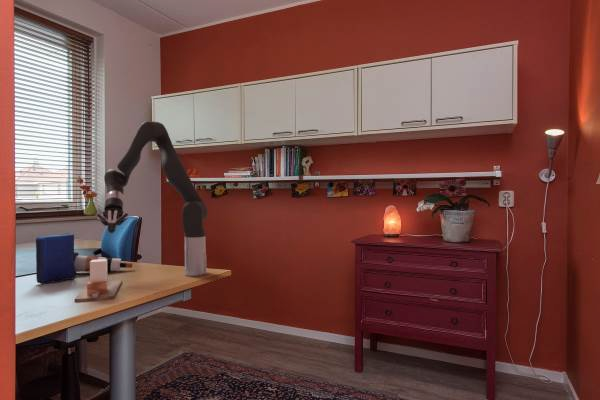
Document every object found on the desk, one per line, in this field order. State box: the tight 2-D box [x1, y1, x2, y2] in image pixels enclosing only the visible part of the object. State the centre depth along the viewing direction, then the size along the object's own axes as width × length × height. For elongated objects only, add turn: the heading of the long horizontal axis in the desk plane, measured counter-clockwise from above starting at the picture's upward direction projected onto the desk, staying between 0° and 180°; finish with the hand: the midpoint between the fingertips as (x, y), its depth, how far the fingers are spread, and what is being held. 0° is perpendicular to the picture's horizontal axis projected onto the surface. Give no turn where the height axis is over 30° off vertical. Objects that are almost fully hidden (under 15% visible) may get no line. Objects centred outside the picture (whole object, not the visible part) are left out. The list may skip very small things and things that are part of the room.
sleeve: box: [89, 259, 109, 286], centre depth 139 cm, size 5×5×11 cm
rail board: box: [74, 279, 123, 303], centre depth 142 cm, size 12×26×5 cm, turn 20°
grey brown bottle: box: [74, 251, 133, 274], centre depth 176 cm, size 10×34×10 cm, turn 109°
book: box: [35, 232, 77, 285], centre depth 159 cm, size 14×5×20 cm, turn 150°
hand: (111, 231), depth 161 cm, fingers closed
